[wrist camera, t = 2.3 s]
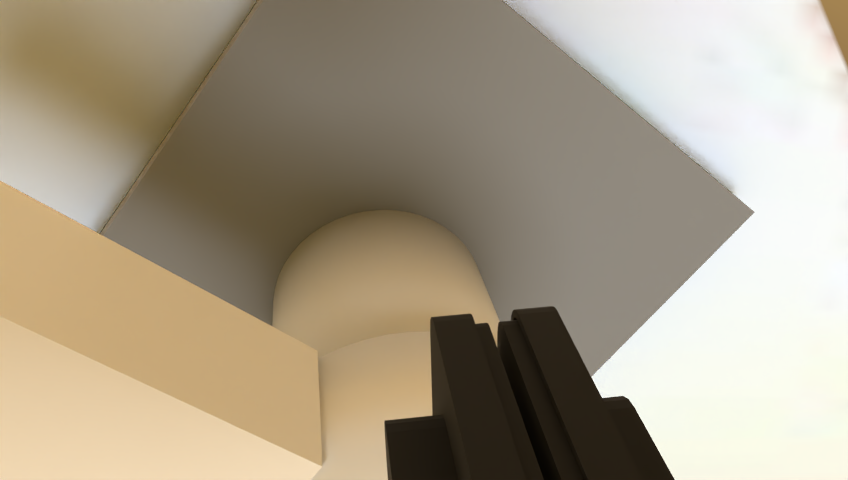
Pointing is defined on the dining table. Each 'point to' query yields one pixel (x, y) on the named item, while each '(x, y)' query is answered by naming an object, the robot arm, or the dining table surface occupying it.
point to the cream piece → (175, 372)
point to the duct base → (419, 180)
